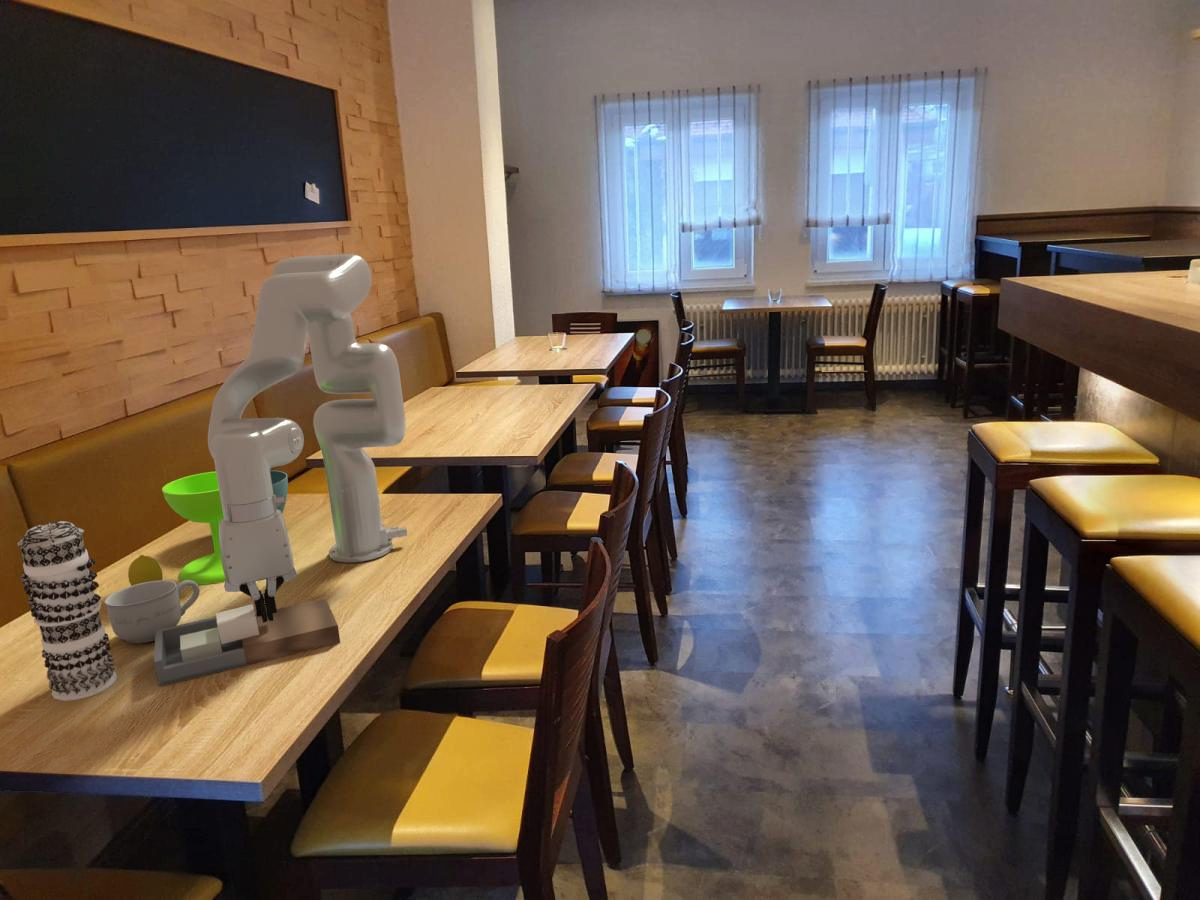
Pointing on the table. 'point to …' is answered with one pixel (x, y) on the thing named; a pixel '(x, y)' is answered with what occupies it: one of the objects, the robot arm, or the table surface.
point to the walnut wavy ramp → (292, 632)
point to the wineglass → (202, 505)
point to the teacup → (147, 608)
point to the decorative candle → (66, 610)
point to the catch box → (176, 670)
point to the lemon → (144, 570)
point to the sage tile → (200, 644)
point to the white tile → (237, 624)
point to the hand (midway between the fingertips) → (267, 618)
